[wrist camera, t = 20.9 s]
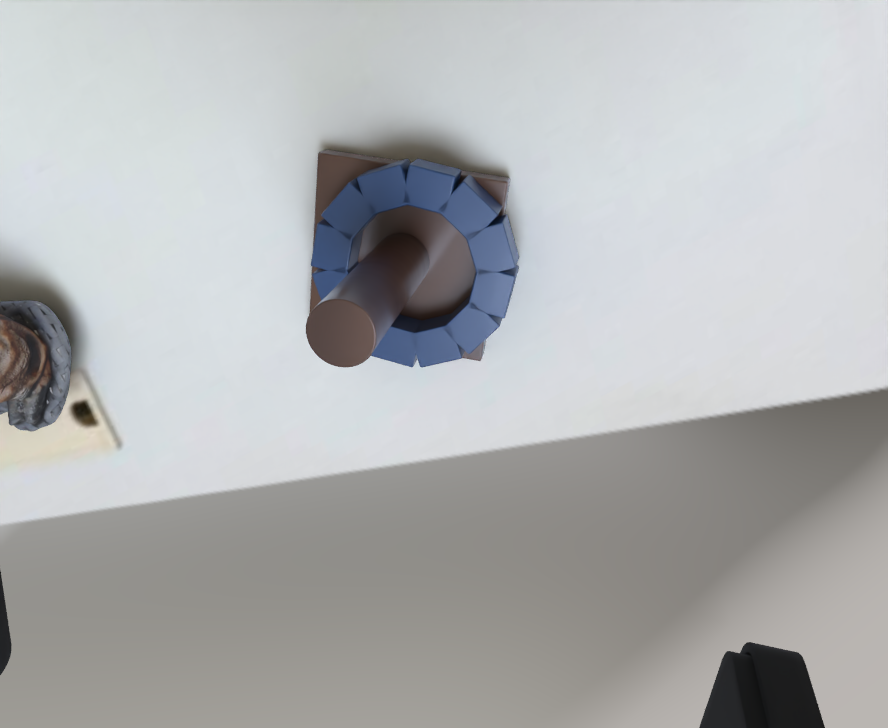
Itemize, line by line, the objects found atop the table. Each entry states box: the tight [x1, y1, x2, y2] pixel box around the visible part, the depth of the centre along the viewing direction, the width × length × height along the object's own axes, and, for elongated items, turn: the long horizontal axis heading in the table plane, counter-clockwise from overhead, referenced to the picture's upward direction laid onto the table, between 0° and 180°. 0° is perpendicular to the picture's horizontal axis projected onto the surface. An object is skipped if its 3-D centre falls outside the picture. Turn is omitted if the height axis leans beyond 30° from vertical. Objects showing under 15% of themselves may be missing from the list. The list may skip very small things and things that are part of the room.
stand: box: [306, 150, 510, 367], centre depth 31 cm, size 8×8×10 cm
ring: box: [311, 159, 519, 367], centre depth 33 cm, size 8×8×2 cm
